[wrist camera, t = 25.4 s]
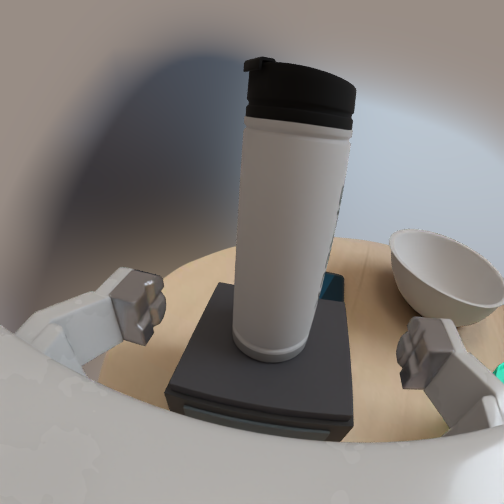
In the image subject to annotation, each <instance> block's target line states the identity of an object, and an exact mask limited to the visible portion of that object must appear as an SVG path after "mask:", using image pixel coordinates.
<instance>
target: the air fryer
mask: <svg viewBox="0 0 504 504" xmlns="http://www.w3.org/2000/svg"><path fill="white" fill-rule="evenodd" d="M233 304H234V285H232V284H226V283H221V282H219V283H218V285H217V287H216V288H215V290H214V292H213V294H212V296H211V298H210V300H209V302H208V304H207V306H206V308H205V310H204V312H203V314H202V316H201V318H200V320H199V322H198V324H197V326H196V328H195V330H194V333H193V335H192V337H191V339H190V341H189V343H188V345H187V347H186V349H185V351H184V353H183V355H182V357H181V359H180V361H179V363H178V365H177V367H176V369H175V371H174V373H173V375H172V377H171V380H170V382H169V384H168V386H167V388H166V390H165V392H164V394H165V397H166V400H167V403H168V406H169V409H170V411H172V412H175V413H178V414H181V415H185V416H188V417H192V418H195V419H199V420H202V421H206V422H210V423H214V424H218V425H222V426H227V427H231V428H236V429H240V430H245V431H251V432H256V433H262V434H268V435H274V436H281V437H289V438H297V439H306V440H318V441H332V442H340V441H341V440H342V439H343V438H344V437H345V436H346V435H347V433H348V432H349V431H350V430H351V429H352V427H353V426H354V422H353V392H352V374H351V360H350V348H349V337H348V327H347V317H346V309H345V303H344V302H338V301H331V300H324V299H318V303H317V307H316V311H315V314H314V318H313V321H312V325H311V328H310V331H309V335H308V338H307V342H306V344H305V347H304V349H303V350H302V351H301V352H300V353H299V354H298V355H297V356H295V357H293V358H292V359H290V360H286V361H283V362H276V363H270V362H262V361H258V360H256V359H253V358H251V357H249V356H247V355H246V354H244V353H243V352H242V351H241V350H240V349H239V348H238V347H237V346H236V344H235V342H234V340H233V335H232V327H233Z"/></svg>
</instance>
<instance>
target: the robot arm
mask: <svg viewBox="0 0 504 504" xmlns="http://www.w3.org/2000/svg"><path fill="white" fill-rule="evenodd" d="M163 287H164V283H163V278H162V277H161V276H160V275H156V274H151V273H148V272H143V271H139V270H134V269H131V268H126V267H120V268H119V269H118V270H117V271H115V272H114V274H113V275H111V276H110V277H109V279H107V280H106V281H105V282H104V283H103V284H102V285H101V286H100V287H99V288H98V289H97V290H96V291H95V292H92V291H90V292H88V293H85V294H82V295H79V296H77V297H74V298H71V299H69V300H66V301H63V302H61V303H58V304H55V305H52V306H50V307H48V308H45V309H42V310H39V311H37V312H35V313H34V314H33V315H32V316H31V317H30V318H29V319H28V320H27V321H26V322H25V323H24V324H23V325H22V326H21V327H20V328H19V329H18V330H17V331H16V332H15V333H14V334H13V333H11V332H10V331H9V330H7V329H6V328H4V327H3V326H2V325H0V504H504V384H503V383H502V382H501V381H500V380H499V379H498V378H497V377H496V376H495V375H494V374H493V373H492V372H491V371H490V370H489V369H488V368H486V367H485V366H484V365H483V364H482V363H481V362H480V361H479V360H478V359H477V358H476V357H474V356H473V355H472V354H471V353H467V351H466V349H465V347H464V344H463V342H462V340H461V338H460V335H459V333H458V331H457V329H456V327H455V325H454V323H453V321H452V320H450V319H442V318H438V319H435V318H424V317H414V316H413V317H412V318H411V319H410V321H409V323H408V325H407V328H408V332H406V333H405V334H403V335H402V336H401V338H400V340H399V342H398V346H397V350H396V357H397V363H398V364H399V365H400V366H401V367H402V370H401V372H400V377H401V382H402V388H403V389H418V390H424V392H425V393H426V395H427V396H428V398H429V399H430V400H431V402H432V403H433V405H434V406H435V407H436V409H437V410H438V412H439V413H440V415H441V416H442V417H443V419H444V420H445V422H446V423H447V425H448V426H449V428H450V429H449V430H448V431H447V432H446V433H445V434H443V435H442V436H441V437H439V438H432V439H423V440H412V441H398V442H332V441H318V440H306V439H297V438H289V437H281V436H274V435H268V434H262V433H256V432H251V431H245V430H240V429H236V428H231V427H227V426H222V425H218V424H214V423H210V422H206V421H202V420H199V419H195V418H192V417H188V416H185V415H181V414H178V413H175V412H172V411H169V410H166V409H163V408H160V407H157V406H154V405H151V404H149V403H146V402H143V401H141V400H138V399H135V398H133V397H130V396H128V395H125V394H123V393H121V392H118V391H116V390H114V389H111V388H109V387H107V386H105V385H102V384H100V383H98V382H96V381H94V380H92V379H90V378H88V377H87V375H86V373H85V371H84V370H83V368H82V366H83V365H84V364H86V363H88V362H89V361H91V360H93V359H94V358H96V357H98V356H99V355H101V354H103V353H104V352H106V351H108V350H109V349H111V348H113V347H114V346H116V345H118V344H119V343H121V342H123V340H126V341H129V342H132V343H136V344H139V345H142V346H146V344H147V343H148V341H149V340H150V338H151V337H152V335H153V334H154V330H153V327H154V326H156V325H158V324H160V323H161V321H162V319H163V318H164V314H165V311H166V298H165V296H164V295H163V293H162V292H161V290H162V289H163Z"/></svg>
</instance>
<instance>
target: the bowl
mask: <svg viewBox="0 0 504 504" xmlns="http://www.w3.org/2000/svg"><path fill="white" fill-rule="evenodd" d="M389 245H390V248H391V262H392V270H393V274H394V278H395V281H396V284H397V286H398V288H399V290H400V292H401V294H402V296H403V297H404V299H405V300H406V301H407V302H408V304H409V305H410V306H411V307H412V308H413V309H414V310H415V311H417V312H418V313H419V314H420V315H422V316H424V317H425V318H435V319H438V318H442V319H450V320H452V321H453V323H454V325H455V327H461V326H467V325H471V324H474V323H477V322H479V321H481V320H483V319H484V318H486V317H487V316H489V315H490V314H491V313H492V312H494V311H495V310H496V309H497V308H498V307H500V306H502V305H503V304H504V278H503V277H502V276H501V274H500V273H499V272H498V270H497V269H496V268H495V267H494V266H493V265H492V264H491V263H490V262H489V261H488V260H486V259H485V258H484V257H483V256H481V255H480V254H479V253H477V252H476V251H474V250H473V249H471V248H469V247H468V246H466V245H464V244H462V243H460V242H458V241H456V240H454V239H451V238H449V237H446V236H444V235H440V234H437V233H434V232H430V231H424V230H418V229H404V230H399V231H397V232H395V233H393V234H392V235H391V236H390V239H389Z"/></svg>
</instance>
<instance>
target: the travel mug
mask: <svg viewBox="0 0 504 504" xmlns="http://www.w3.org/2000/svg"><path fill="white" fill-rule="evenodd" d="M247 71H249V82H248V94H247V100H248V101H249V105H248V106H247V107H246V116H245V120H244V123H245V125H246V126H247V127H246V128H245V129H244V132H243V133H244V134H243V146H242V162H241V177H240V192H239V193H240V194H239V209H238V226H237V244H236V263H235V283H234V304H233V327H232V335H233V340H234V342H235V344H236V346H237V347H238V348H239V349H240V350H241V351H242V352H243V353H244V354H246V355H247V356H249V357H251V358H253V359H256V360H258V361H262V362H270V363H276V362H283V361H286V360H290V359H292V358H293V357H295V356H297V355H298V354H299V353H300V352H301V351H302V350H303V349H304V347H305V344H306V342H307V338H308V335H309V331H310V328H311V325H312V321H313V318H314V314H315V311H316V307H317V303H318V299H319V296H320V292H321V288H322V284H323V280H324V276H325V272H326V268H327V264H328V260H329V256H330V251H331V247H332V242H333V238H334V233H335V228H336V224H337V219H338V214H339V209H340V204H341V199H342V193H343V188H344V182H345V177H346V171H347V165H348V158H349V152H350V146H351V144H350V142H349V139H350V138H351V137H352V124H353V120H352V118H351V116H352V114H353V113H354V108H355V99H356V88H355V87H354V86H353V85H352V84H351V83H349V82H348V81H346V80H344V79H342V78H340V77H337V76H335V75H333V74H331V73H328V72H325V71H321V70H318V69H314V68H311V67H307V66H302V65H296V64H290V63H281V62H276V61H275V59H273V58H267V57H258V58H255V59H250V60H247V61H245V63H244V72H247Z"/></svg>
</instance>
